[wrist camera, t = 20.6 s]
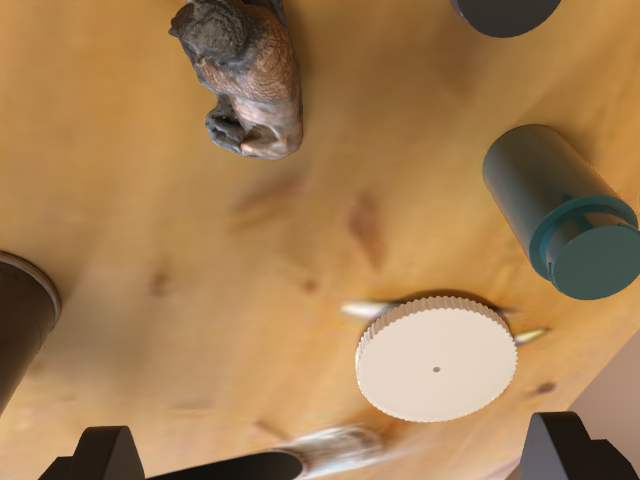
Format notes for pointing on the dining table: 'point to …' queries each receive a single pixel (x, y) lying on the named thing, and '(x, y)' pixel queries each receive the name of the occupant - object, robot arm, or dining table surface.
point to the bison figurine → (245, 73)
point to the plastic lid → (435, 359)
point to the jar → (563, 213)
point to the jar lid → (504, 15)
